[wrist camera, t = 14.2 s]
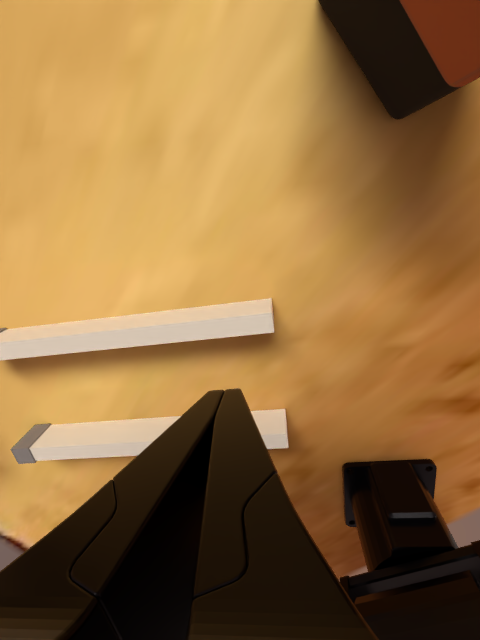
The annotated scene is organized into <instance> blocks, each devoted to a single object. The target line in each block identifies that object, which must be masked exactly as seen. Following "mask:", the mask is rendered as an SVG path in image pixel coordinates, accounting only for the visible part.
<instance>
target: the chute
mask: <svg viewBox="0 0 480 640" xmlns="http://www.w3.org/2000/svg"><path fill="white" fill-rule="evenodd" d="M264 333H274V314H273V306H272V298H269V299H260V300H252V301H243V302H235V303H226V304H217V305H209V306H200V307H192V308H183V309H175V310H166V311H158V312H149V313H141V314H132V315H124V316H115V317H107V318H98V319H90V320H81V321H72V322H64V323H55V324H47V325H38V326H30V327H21V328H13V329H7V328H1V329H0V360H9V359H19V358H29V357H38V356H48V355H58V354H68V353H78V352H87V351H97V350H107V349H117V348H127V347H136V346H146V345H156V344H166V343H176V342H185V341H195V340H205V339H215V338H225V337H234V336H244V335H254V334H264ZM251 414H252V416H253V418H254V420H255V423H256V425H257V427H258V429H259V432H260V434H261V436H262V439H263V441H264V443H265V445H266V448H267V449H277V448H289V447H288V432H287V420H286V412H285V409H275V410H260V411H251ZM180 417H181V416H172V417H157V418H143V419H128V420H113V421H99V422H84V423H69V424H55V425H51V424H40V425H34V426H33V427H32V428H31V429H30V430H29V431H28V432H27V433H26V434H25V435H24V436H23V437H22V438H21V439H20V440H19V441H18V442H17V443H16V444H15V445H14V446H13V447H12V448H11V451H12V453H13V455H14V456H15V458H16V460H17V462H18V464H23V463H36V461H42V460H61V459H81V458H101V457H120V456H138V455H139V454H140V453H141V452H142V451H143V450H144V449H145V448H147V447H148V446H149V445H150V444H151V443H152V442H153V441H154V440H155V439H156V438H158V437H159V436H160V435H161V434H162V433H163V432H164V431H165V430H166V429H168V428H169V427H170V426H171V425H172V424H173V423H174V422H175V421H176V420H177V419H179V418H180Z"/></svg>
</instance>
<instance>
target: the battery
mask: <svg viewBox="0 0 480 640" xmlns="http://www.w3.org/2000/svg"><path fill="white" fill-rule="evenodd" d="M319 2H320V4H321V5H322V7H323V9H324V10H325V12H326V14H327V15H328V17H329V19H330V20H331V22H332V23H333V25H334V27H335V28H336V30H337V31H338V33H339V35H340V36H341V38H342V39H343V41H344V43H345V44H346V46H347V47H348V49H349V51H350V52H351V54H352V55H353V57H354V58H355V60H356V62H357V63H358V65H359V66H360V68H361V70H362V71H363V73H364V74H365V76H366V78H367V79H368V81H369V82H370V84H371V86H372V87H373V89H374V90H375V92H376V94H377V95H378V97H379V98H380V100H381V102H382V103H383V105H384V106H385V108H386V110H387V111H388V113H389V114H390V115H391V117H393V118H394V119H402V118H404V117H406V116H408V115H410V114H412V113H414V112H416V111H417V110H419V109H421V108H423V107H425V106H427V105H429V104H431V103H432V102H434V101H436V100H438V99H440V98H442V97H444V96H446V95H447V94H449V93H451V92H453V91H455V90H457V89H459V88H461V87H462V86H464V85H466V84H468V83H470V82H472V81H474V80H475V79H477V78H479V77H480V0H319Z"/></svg>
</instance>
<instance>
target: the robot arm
mask: <svg viewBox="0 0 480 640" xmlns="http://www.w3.org/2000/svg"><path fill="white" fill-rule="evenodd" d="M428 466H429V467H428ZM350 469H351V470H350ZM436 469H437V468H436V465H435V464H434V462H433V461H432V460H430V459H421V460H398V461H375V462H352V463H346V464H344V465H343V467H342V471H343V493H344V515H345V522H346V525H348V526H350V527H357V530H358V534H359V538H360V541H361V545H362V549H363V553H364V557H365V561H366V565H367V569H368V572H367V573H363V574H359V575H355V576H351V577H349V576H344V577H341V578H340V582H339V580H338V578H337V577H336V575H335V574H334V572H333V571H332V569H331V567H330V566H329V564H328V563H327V561H326V559H325V558H324V556H323V555H322V553H321V552H320V550H319V548H318V547H317V545H316V544H315V542H314V541H313V539H312V537H311V536H310V534H309V533H308V531H307V529H306V527H305V526H304V524H303V522H302V521H301V519H300V517H299V515H298V514H297V512H296V510H295V508H294V506H293V504H292V502H291V500H290V498H289V496H288V494H287V492H286V490H285V488H284V486H283V484H282V481H281V479H280V477H279V475H278V474H277V470H276V468H275V466H274V464H273V461H272V459H271V457H270V454H269V452H268V450H267V448H266V445H265V443H264V441H263V439H262V436H261V434H260V432H259V429H258V427H257V425H256V423H255V420H254V418H253V416H252V414H251V411H250V409H249V407H248V404H247V402H246V400H245V398H244V395H243V393H242V391H241V389H227V390H225V391H224V390H213V391H209V392H207V393H206V394H205V395H204V396H203V397H202V398H201V399H200V400H198V401H197V402H196V403H195V404H194V405H193V406H192V407H191V408H190V409H188V410H187V411H186V412H185V413H184V414H183V415H182V416H181V417H180V418H179V419H177V420H176V421H175V422H174V423H173V424H172V425H171V426H170V427H169V428H168V429H166V430H165V431H164V432H163V433H162V434H161V435H160V436H159V437H158V438H156V439H155V440H154V441H153V442H152V443H151V444H150V445H149V446H148V447H147V448H145V449H144V450H143V451H142V452H141V453H140V454H139V455H138V456H137V457H136V458H134V459H133V460H132V461H131V462H130V463H129V464H128V465H127V466H126V467H124V468H123V469H122V470H121V471H120V472H119V473H118V474H117V475H116V476H115V477H114V478H113V480H110V481H109V482H108V483H107V484H106V485H104V486H103V487H102V488H101V489H100V490H99V491H98V492H97V493H96V494H94V495H93V496H92V497H91V498H90V499H89V500H88V501H86V502H85V503H84V504H83V505H82V506H81V507H80V508H78V509H77V510H76V511H75V512H74V513H73V514H71V515H70V516H69V517H68V518H66V519H65V520H64V521H63V522H62V523H60V524H59V525H58V526H57V527H55V528H54V529H53V530H52V531H51V532H49V533H48V534H47V535H46V536H44V537H43V538H42V539H41V540H39V541H38V542H37V543H36V544H34V545H33V546H32V547H30V548H29V549H28V550H27V551H25V552H24V553H23V554H22V555H20V556H19V557H18V558H17V559H15V560H14V561H13V562H12V563H10V564H9V565H8V566H6V567H5V568H4V569H3V570H1V571H0V640H480V540H479V541H475V542H471V545H468V546H464V547H460V548H458V546H457V544H456V542H455V540H454V538H453V536H452V534H451V533H450V531H449V529H448V527H447V525H446V523H445V521H444V519H443V517H442V515H441V513H440V512H439V510H438V508H437V506H436V504H435V502H434V489H435V479H436Z"/></svg>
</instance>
